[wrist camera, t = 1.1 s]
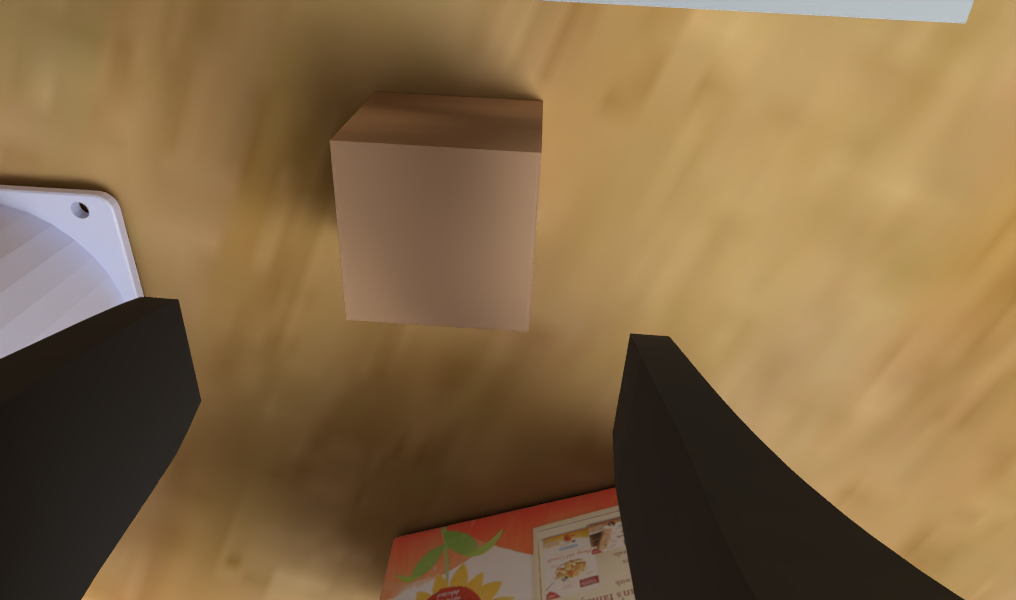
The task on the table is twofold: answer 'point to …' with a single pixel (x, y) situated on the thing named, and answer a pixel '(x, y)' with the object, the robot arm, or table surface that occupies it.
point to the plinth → (824, 7)
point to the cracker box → (518, 556)
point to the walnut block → (438, 209)
